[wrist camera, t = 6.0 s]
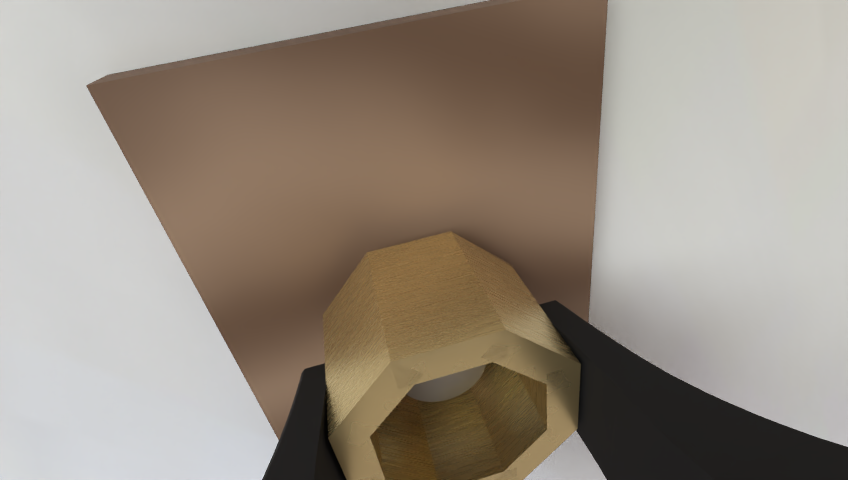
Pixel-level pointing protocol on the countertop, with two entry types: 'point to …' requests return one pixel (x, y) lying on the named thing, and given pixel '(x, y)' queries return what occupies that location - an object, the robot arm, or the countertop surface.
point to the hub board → (369, 165)
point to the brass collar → (444, 367)
